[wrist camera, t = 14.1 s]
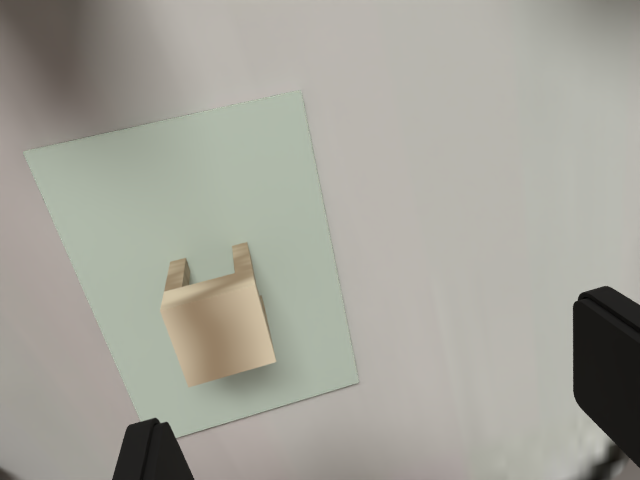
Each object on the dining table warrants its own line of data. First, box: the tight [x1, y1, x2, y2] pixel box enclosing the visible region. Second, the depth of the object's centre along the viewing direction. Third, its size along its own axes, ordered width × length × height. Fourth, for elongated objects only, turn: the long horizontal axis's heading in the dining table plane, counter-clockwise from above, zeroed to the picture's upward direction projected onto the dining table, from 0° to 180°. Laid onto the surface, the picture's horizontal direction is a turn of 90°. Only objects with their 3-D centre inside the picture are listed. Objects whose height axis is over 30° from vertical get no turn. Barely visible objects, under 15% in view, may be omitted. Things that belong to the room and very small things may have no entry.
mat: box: [23, 90, 359, 438], centre depth 32 cm, size 16×22×1 cm
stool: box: [160, 242, 276, 388], centre depth 29 cm, size 5×5×6 cm
